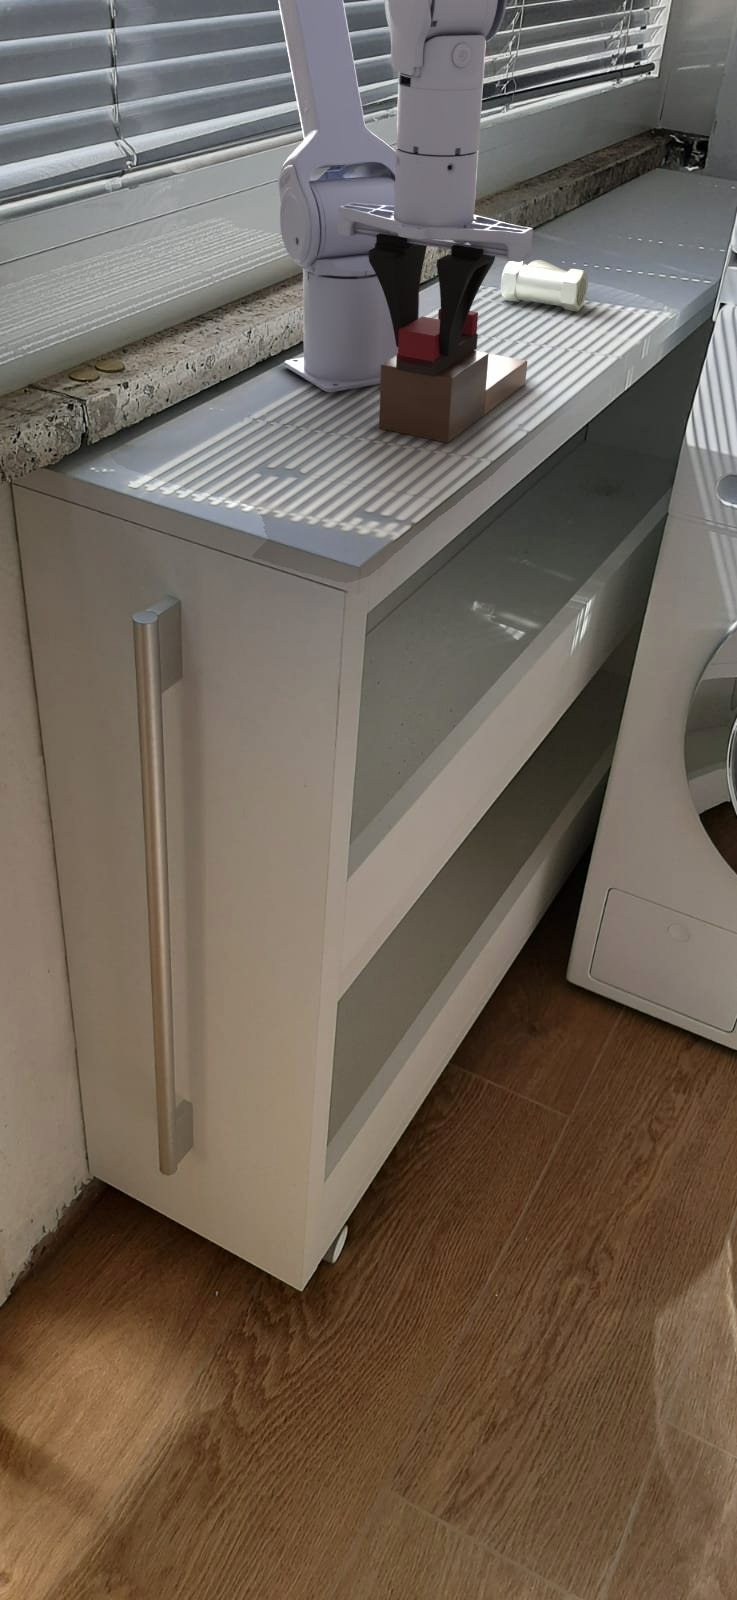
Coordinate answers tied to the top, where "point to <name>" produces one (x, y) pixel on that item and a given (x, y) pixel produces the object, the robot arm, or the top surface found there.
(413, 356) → the red blocks on slab
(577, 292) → the pipe fitting
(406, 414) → the copper l-shaped step block
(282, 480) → the top surface
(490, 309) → the top surface
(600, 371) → the top surface
